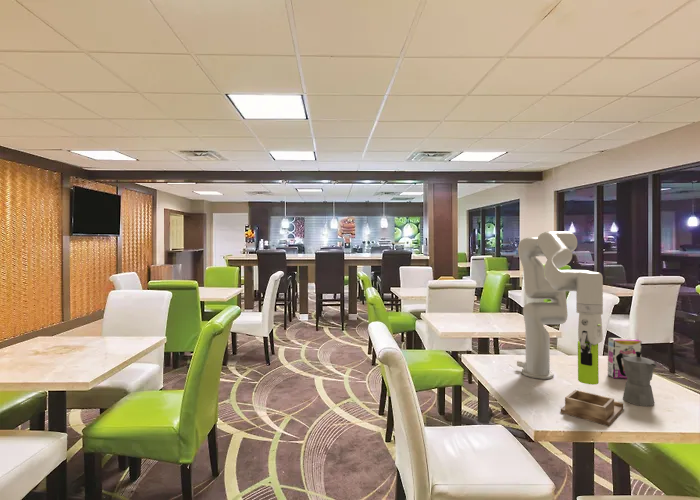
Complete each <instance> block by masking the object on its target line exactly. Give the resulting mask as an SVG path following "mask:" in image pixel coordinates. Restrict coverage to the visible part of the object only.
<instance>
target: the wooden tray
mask: <svg viewBox="0 0 700 500" xmlns="http://www.w3.org/2000/svg"><path fill="white" fill-rule="evenodd" d="M623 411H624V403H623V402H620V401H616V400H615V398H613V397H608V396H606V395H605V396H604V395H600V394H595V393H591V392H588V391H582V390H579V389H574V390H573V391H572V392H571V393H569V394H568V395H566V396H565V397H564V406H562V407H561V408H560V414H564V415H568V416H571V417H575V418H579V419H582V420H585V421H589V422H594V423H597V424H599V425H604V426H607V427H610V426H611V425H612V423H614V421H615V420H616V419H617V418H618V417H619V415H620V414H621V413H622V412H623Z"/></svg>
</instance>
